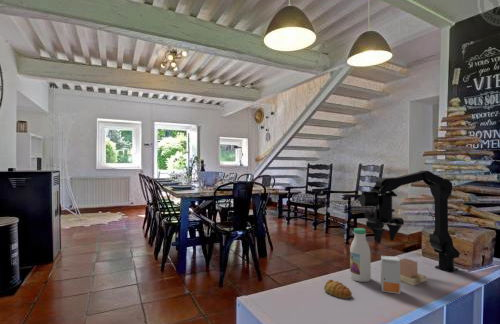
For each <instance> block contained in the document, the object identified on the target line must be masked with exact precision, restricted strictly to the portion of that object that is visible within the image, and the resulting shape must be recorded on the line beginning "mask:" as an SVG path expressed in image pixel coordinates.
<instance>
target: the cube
mask: <svg viewBox="0 0 500 324" xmlns="http://www.w3.org/2000/svg"><path fill="white" fill-rule="evenodd" d="M418 270H419V269H418V261H415V260H411V259H408V258H405V257H404V258H401V259H400V274H403V275H406V276H409V277H412V276H415V275H418V273H419V272H418Z"/></svg>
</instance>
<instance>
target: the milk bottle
mask: <svg viewBox="0 0 500 324" xmlns="http://www.w3.org/2000/svg"><path fill="white" fill-rule="evenodd" d="M353 235H354V237H353V240H352V242H351V244H350V249H349V276H350V278H351V279H352V280H353V281H356V282H362V283H367V282H370V281H371V280H372V279H371V278H372V277H371V276H372V275H371V274H372V272H371V271H372V270H371V268H372V267H371V265H372V263H371V248H370V246H369V243H368V241H367V238H366V237H367V236H366V235H367V229H365V228H362V227H354V228H353Z"/></svg>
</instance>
